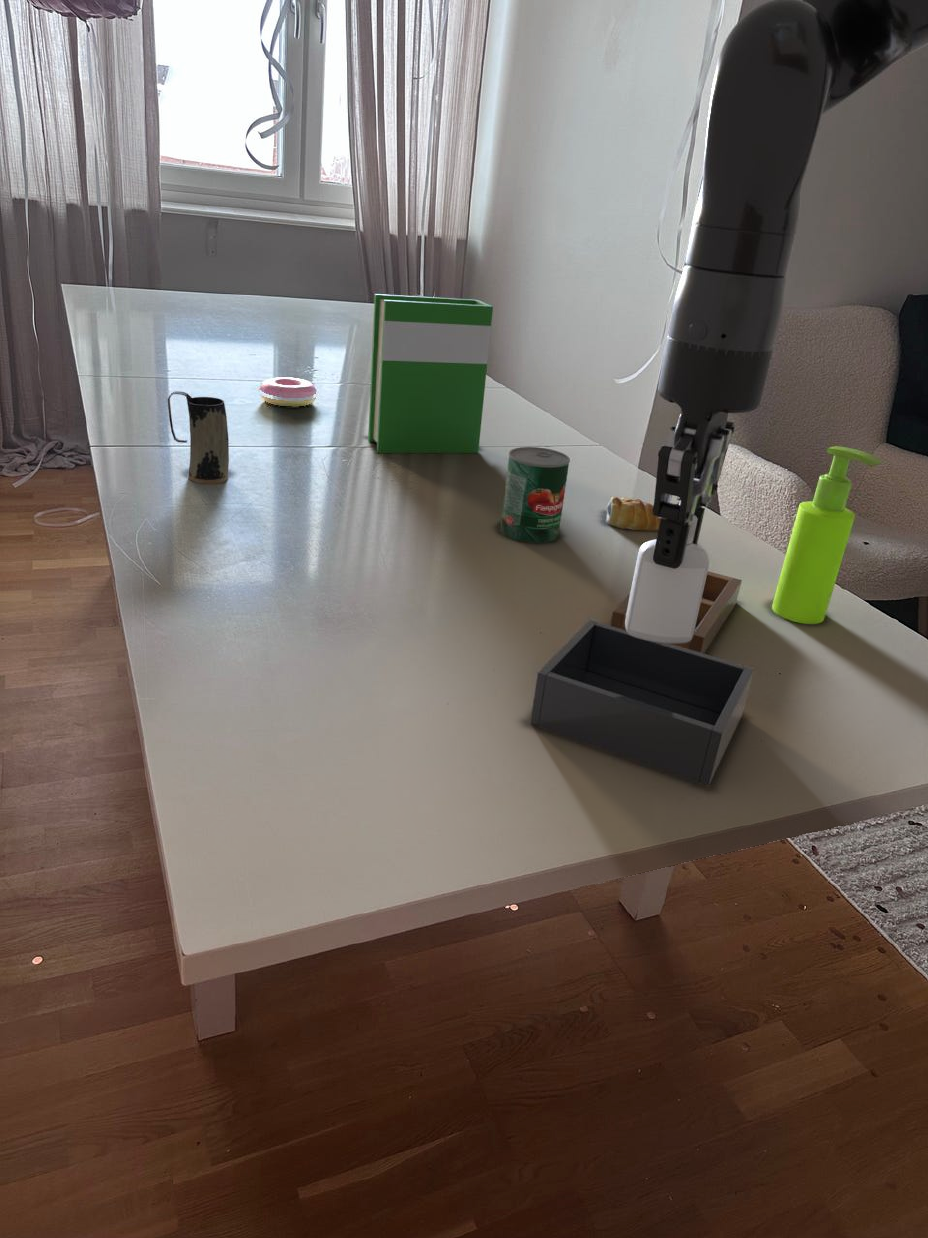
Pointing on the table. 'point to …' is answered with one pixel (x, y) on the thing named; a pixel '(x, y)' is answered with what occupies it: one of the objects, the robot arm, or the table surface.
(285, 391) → the doughnut
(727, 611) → the tray
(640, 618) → the eye dropper bottle
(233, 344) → the table surface
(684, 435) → the robot arm
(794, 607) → the soap dispenser
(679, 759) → the dark grey open box
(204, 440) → the mug
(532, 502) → the canned tomato
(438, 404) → the hardback book
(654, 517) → the pastry
